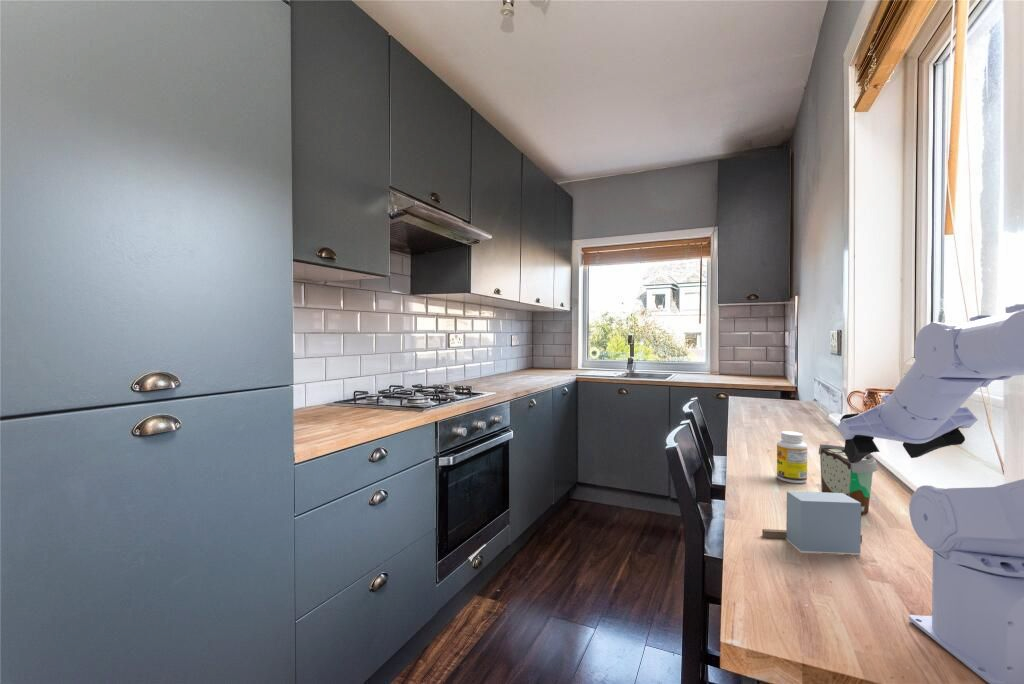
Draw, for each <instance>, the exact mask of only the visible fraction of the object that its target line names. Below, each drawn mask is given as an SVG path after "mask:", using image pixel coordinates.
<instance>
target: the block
mask: <svg viewBox="0 0 1024 684" xmlns="http://www.w3.org/2000/svg"><path fill="white" fill-rule="evenodd" d="M861 524H862V516H861V503H860V502H858V501H856V500H855V499H853V498H851V497H849V496H847V495H845V494H843V493H825V492H822V491H820V492H818V491H791V490H790V491H789V490H787V491H786V525H785V528H786V529H785V530H786V539H785V540H786V541H787V543H789V544H790V545H792V546H793V547H794V548H795V549H796V550H797V551H799V553H801V554H803V553H804V554H805V553H806V554H822V553H840V554H839V555H844V554H851V555H850V556H861V546H862V545H861V543H862V542H861V535H862V534H861V532H862V529H861V528H862V527H861V526H862V525H861ZM842 553H843V554H842Z"/></svg>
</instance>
